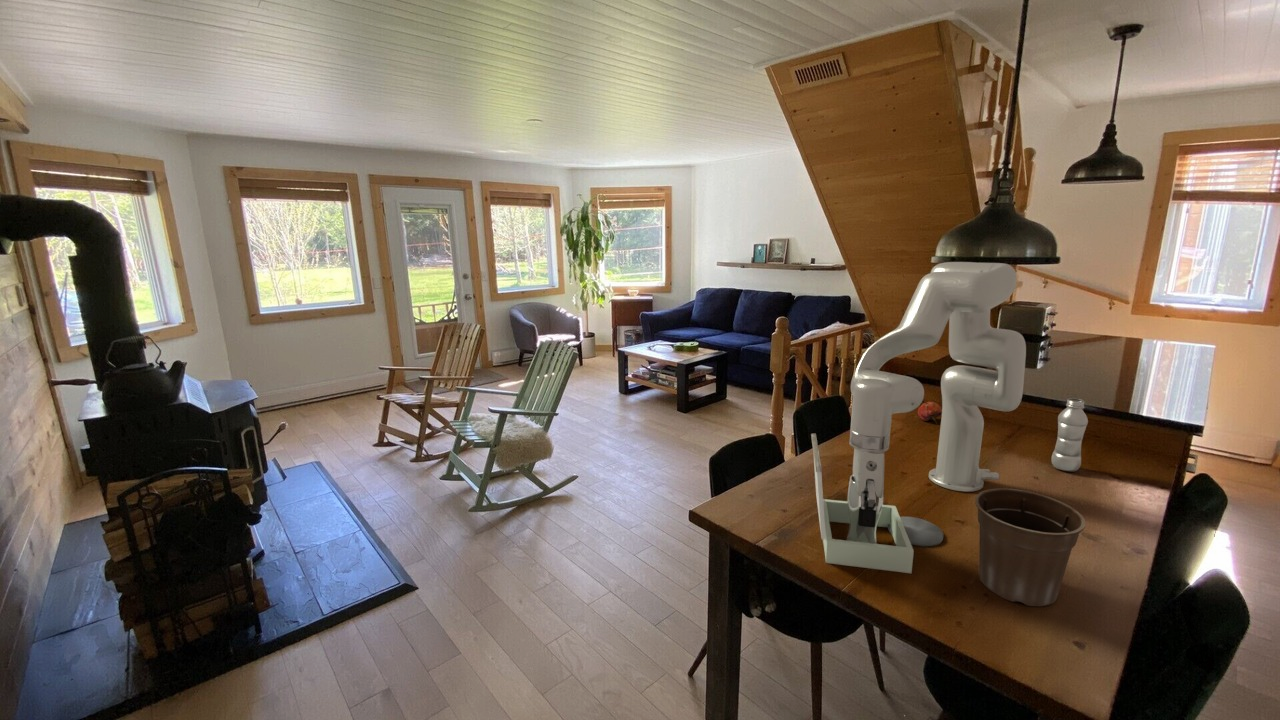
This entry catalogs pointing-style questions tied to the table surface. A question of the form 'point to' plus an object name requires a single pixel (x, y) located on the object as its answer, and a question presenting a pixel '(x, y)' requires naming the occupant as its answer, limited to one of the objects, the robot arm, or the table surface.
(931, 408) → the pomegranate
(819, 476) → the lid
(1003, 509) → the plant pot
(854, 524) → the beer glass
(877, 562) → the frame
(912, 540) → the grey round coaster
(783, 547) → the table surface
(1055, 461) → the plastic bottle
